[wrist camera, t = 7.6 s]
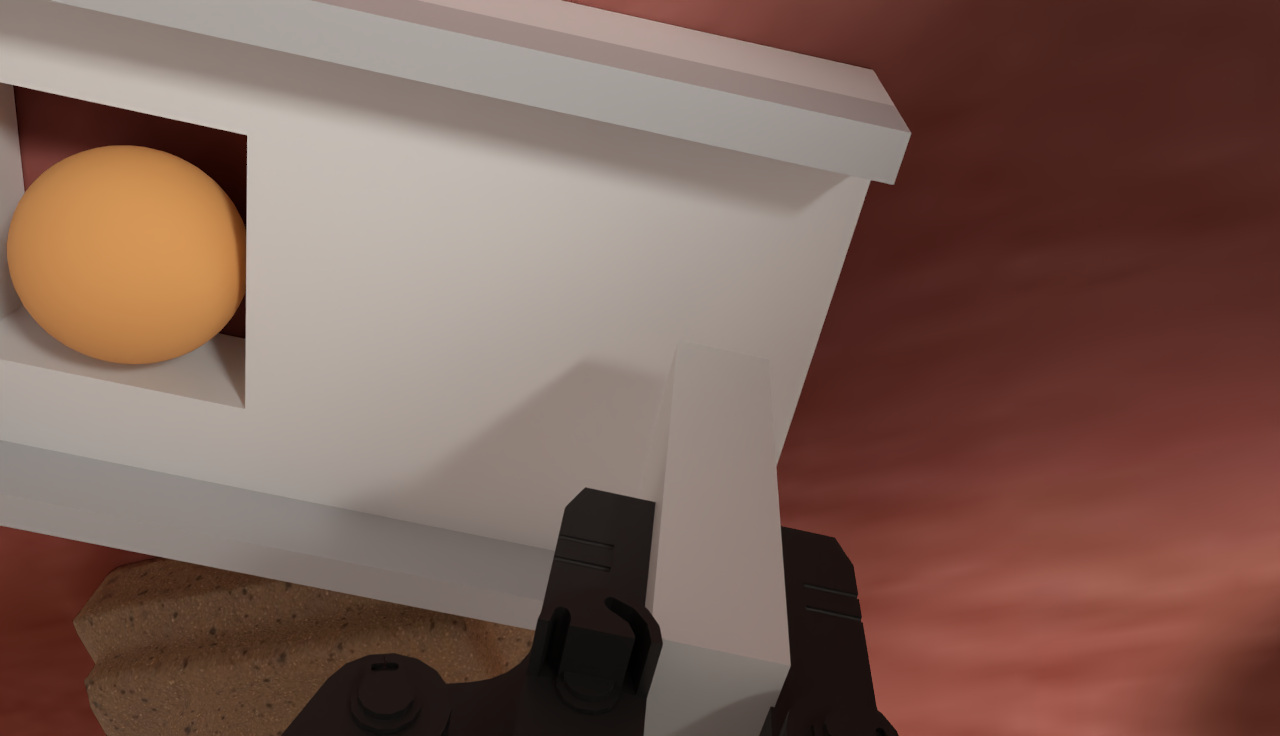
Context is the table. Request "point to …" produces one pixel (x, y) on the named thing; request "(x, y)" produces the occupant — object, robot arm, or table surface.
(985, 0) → the table surface
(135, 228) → the ball
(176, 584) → the candle holder
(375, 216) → the tray
